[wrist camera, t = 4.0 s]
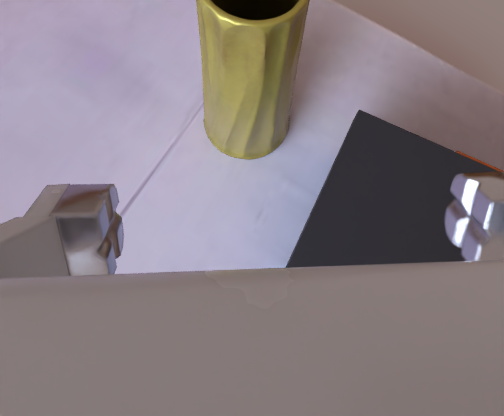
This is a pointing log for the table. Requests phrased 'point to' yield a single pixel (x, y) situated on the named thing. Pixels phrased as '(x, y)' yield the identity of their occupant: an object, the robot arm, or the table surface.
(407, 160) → the lunchbox
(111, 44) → the table surface
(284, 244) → the table surface
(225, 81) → the vase
